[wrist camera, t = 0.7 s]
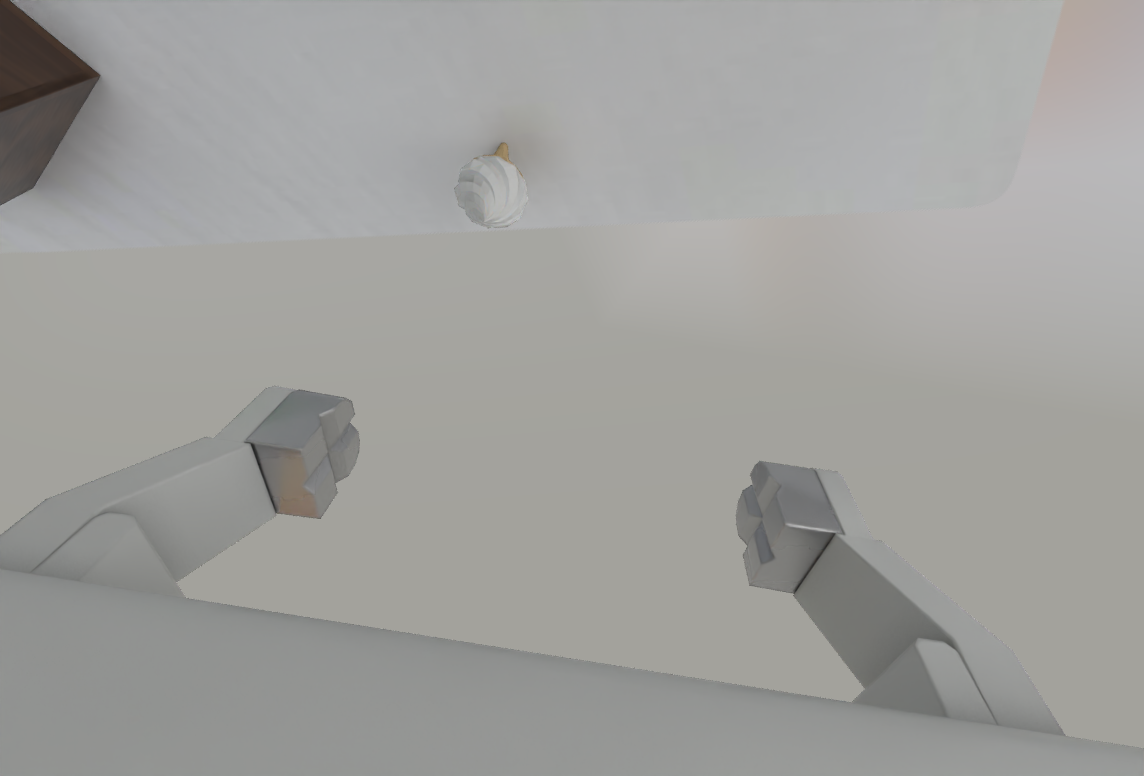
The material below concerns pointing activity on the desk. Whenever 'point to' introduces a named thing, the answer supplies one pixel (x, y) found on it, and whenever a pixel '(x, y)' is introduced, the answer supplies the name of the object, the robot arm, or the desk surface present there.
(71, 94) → the cupboard
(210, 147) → the desk surface
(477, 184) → the ice cream cone
